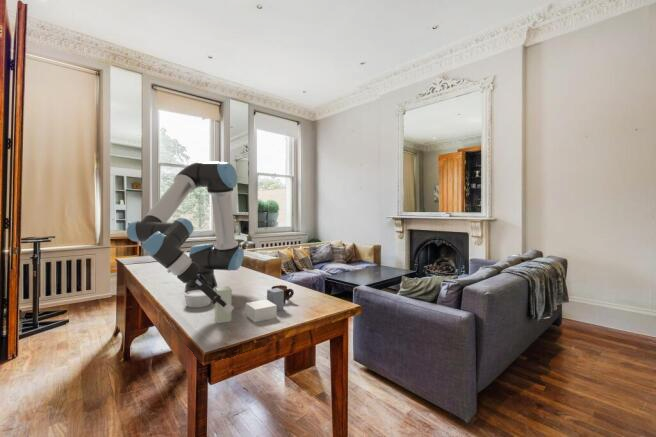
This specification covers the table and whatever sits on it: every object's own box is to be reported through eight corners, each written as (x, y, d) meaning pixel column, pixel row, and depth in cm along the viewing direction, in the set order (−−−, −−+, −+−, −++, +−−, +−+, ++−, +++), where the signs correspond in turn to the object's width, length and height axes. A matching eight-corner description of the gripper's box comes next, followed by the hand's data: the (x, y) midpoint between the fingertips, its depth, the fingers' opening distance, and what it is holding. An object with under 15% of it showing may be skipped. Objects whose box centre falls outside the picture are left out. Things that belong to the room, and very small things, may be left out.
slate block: (266, 308, 127) (267, 289, 127) (276, 306, 131) (277, 287, 131) (273, 311, 124) (273, 292, 124) (283, 309, 127) (283, 290, 127)
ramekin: (185, 301, 134) (186, 290, 133) (212, 299, 137) (212, 288, 137) (182, 309, 123) (183, 297, 123) (212, 307, 127) (212, 295, 127)
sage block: (214, 318, 114) (215, 287, 114) (228, 316, 117) (228, 286, 116) (217, 323, 110) (217, 290, 109) (231, 321, 112) (231, 289, 112)
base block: (245, 315, 119) (245, 303, 119) (266, 311, 125) (266, 299, 124) (254, 322, 112) (255, 309, 112) (276, 318, 117) (276, 305, 117)
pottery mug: (266, 304, 134) (266, 286, 138) (275, 308, 142) (275, 290, 146) (290, 300, 132) (290, 281, 135) (299, 304, 140) (298, 286, 144)
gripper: (174, 269, 115) (214, 303, 123) (177, 284, 94) (226, 324, 101) (189, 255, 118) (228, 289, 126) (196, 266, 96) (242, 306, 104)
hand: (227, 304), depth 114 cm, fingers open, 13 cm apart
